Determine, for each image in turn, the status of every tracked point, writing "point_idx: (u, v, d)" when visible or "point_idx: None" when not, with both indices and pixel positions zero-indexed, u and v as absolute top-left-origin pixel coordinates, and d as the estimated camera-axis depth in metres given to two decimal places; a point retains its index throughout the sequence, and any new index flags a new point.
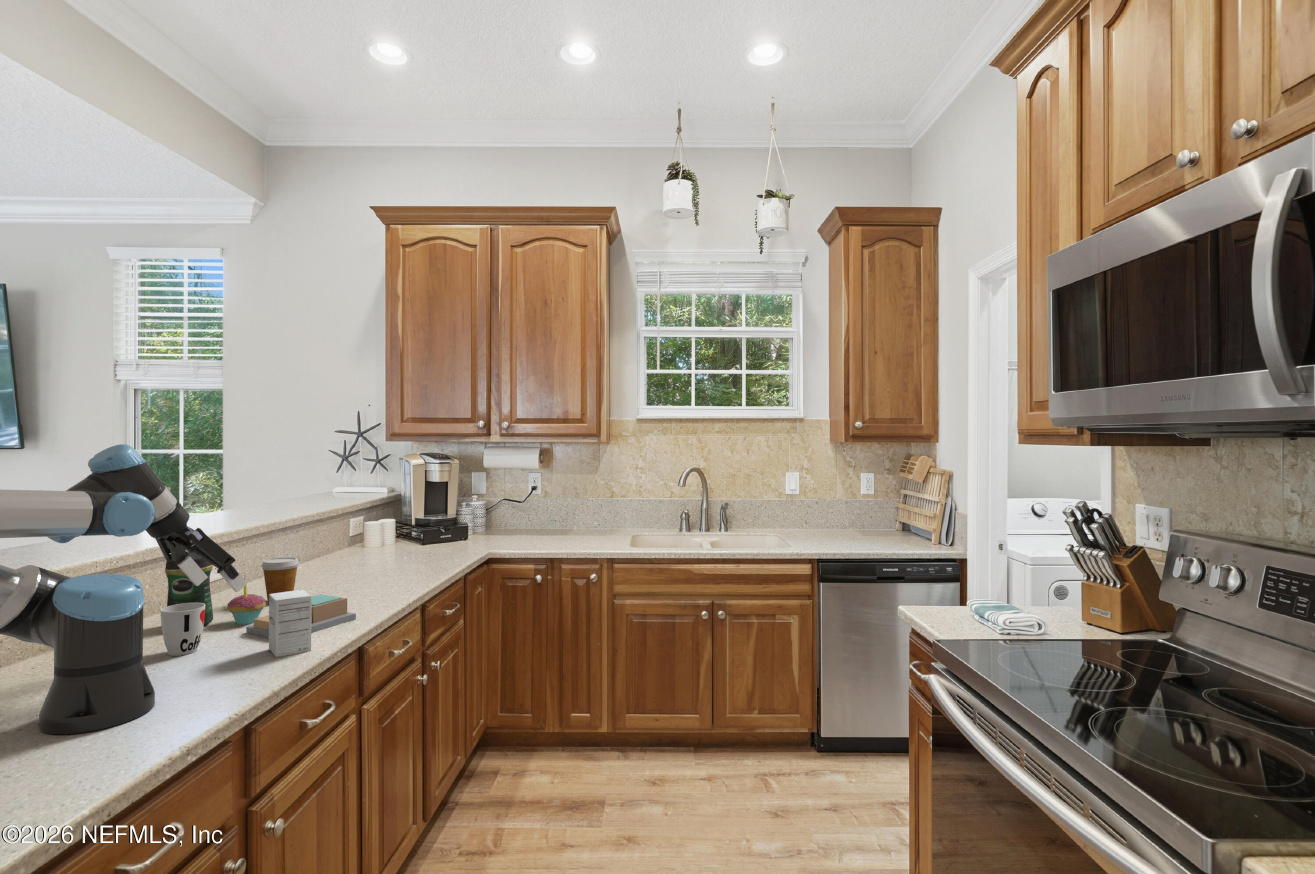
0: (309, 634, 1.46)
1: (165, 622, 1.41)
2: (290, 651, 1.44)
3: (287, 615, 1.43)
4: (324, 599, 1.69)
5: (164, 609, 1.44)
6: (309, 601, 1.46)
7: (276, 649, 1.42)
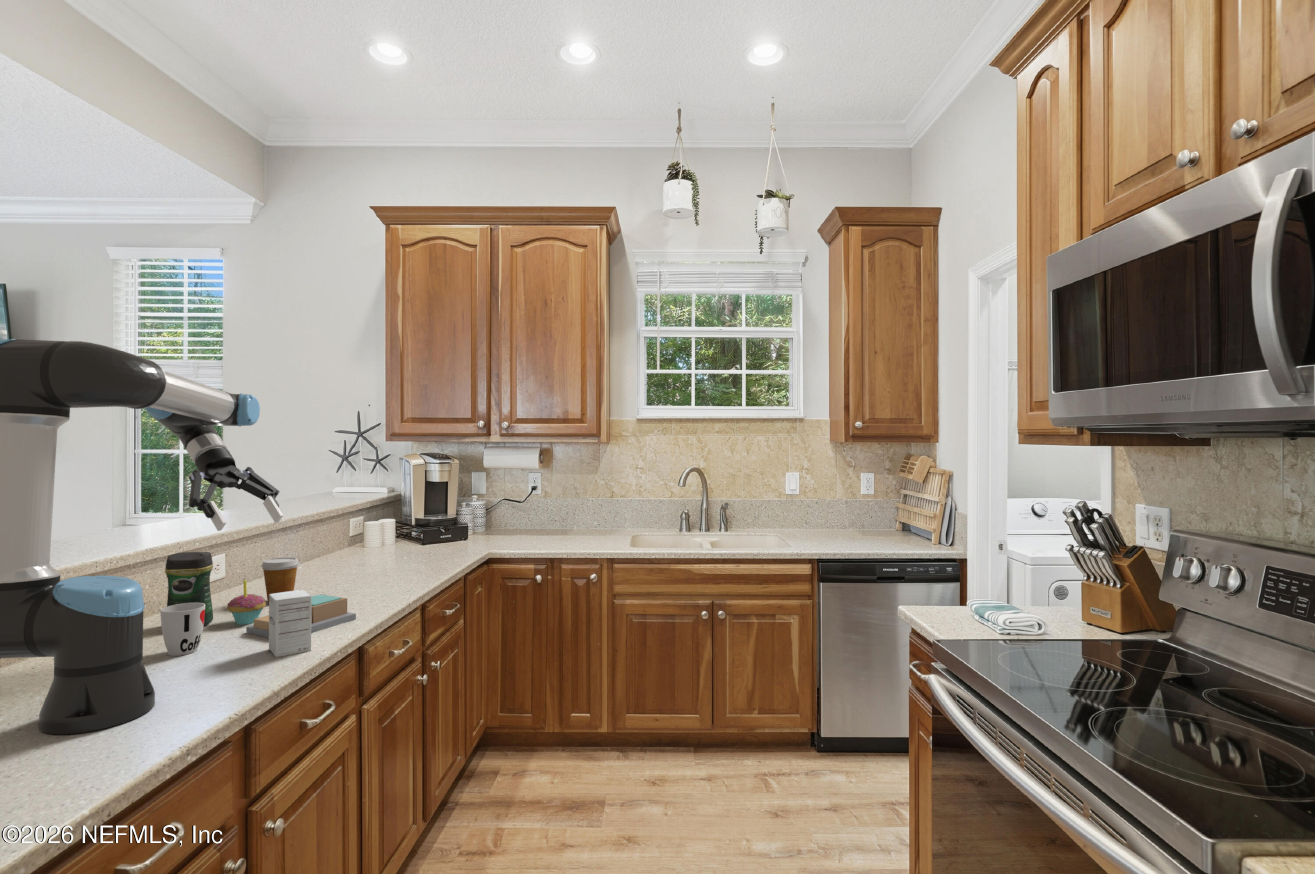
0: (309, 634, 1.46)
1: (165, 622, 1.41)
2: (290, 651, 1.44)
3: (287, 615, 1.43)
4: (324, 599, 1.69)
5: (164, 609, 1.44)
6: (309, 601, 1.46)
7: (276, 649, 1.42)
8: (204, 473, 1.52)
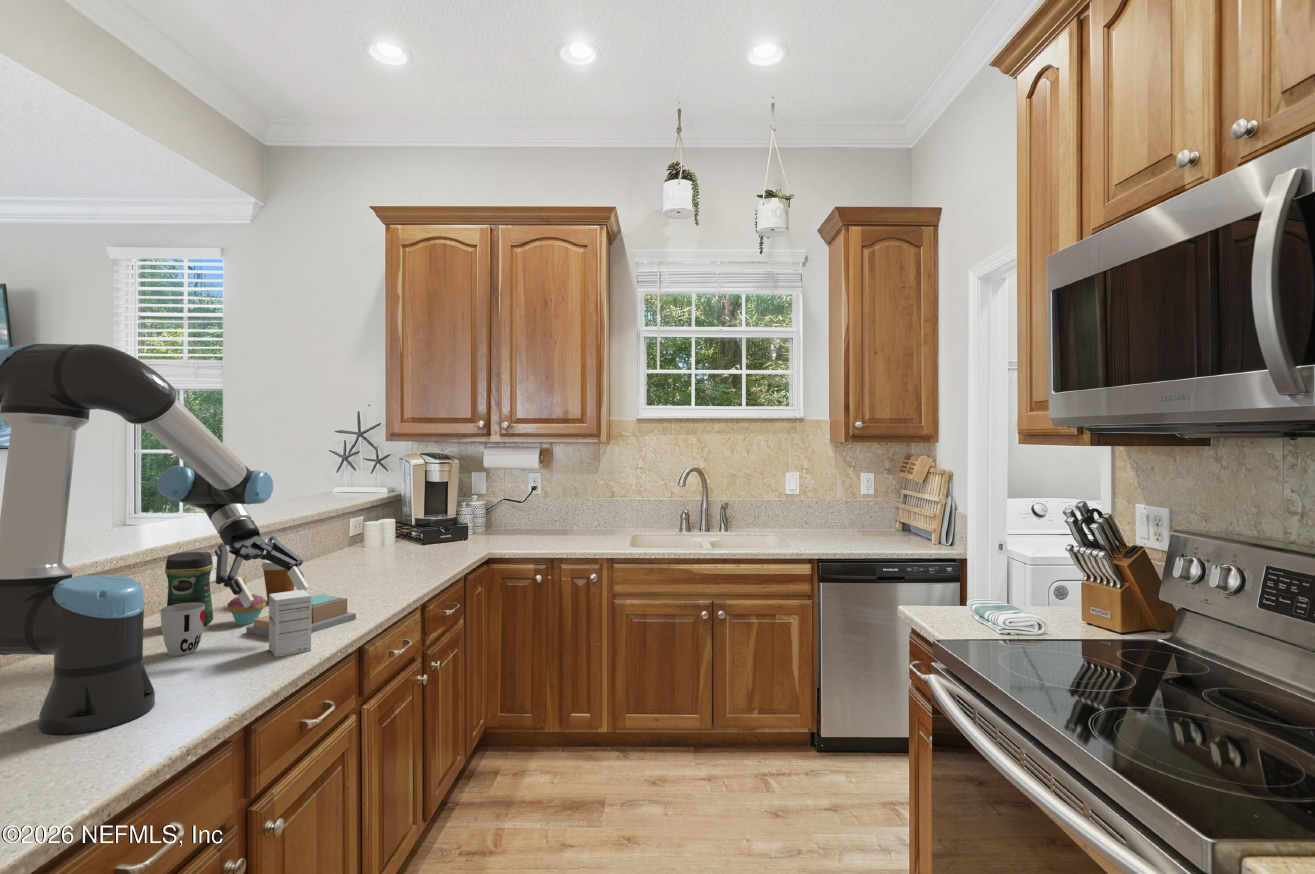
0: (309, 634, 1.46)
1: (165, 622, 1.41)
2: (290, 651, 1.44)
3: (287, 615, 1.43)
4: (324, 599, 1.69)
5: (164, 609, 1.44)
6: (309, 601, 1.46)
7: (276, 649, 1.42)
8: (230, 546, 1.50)
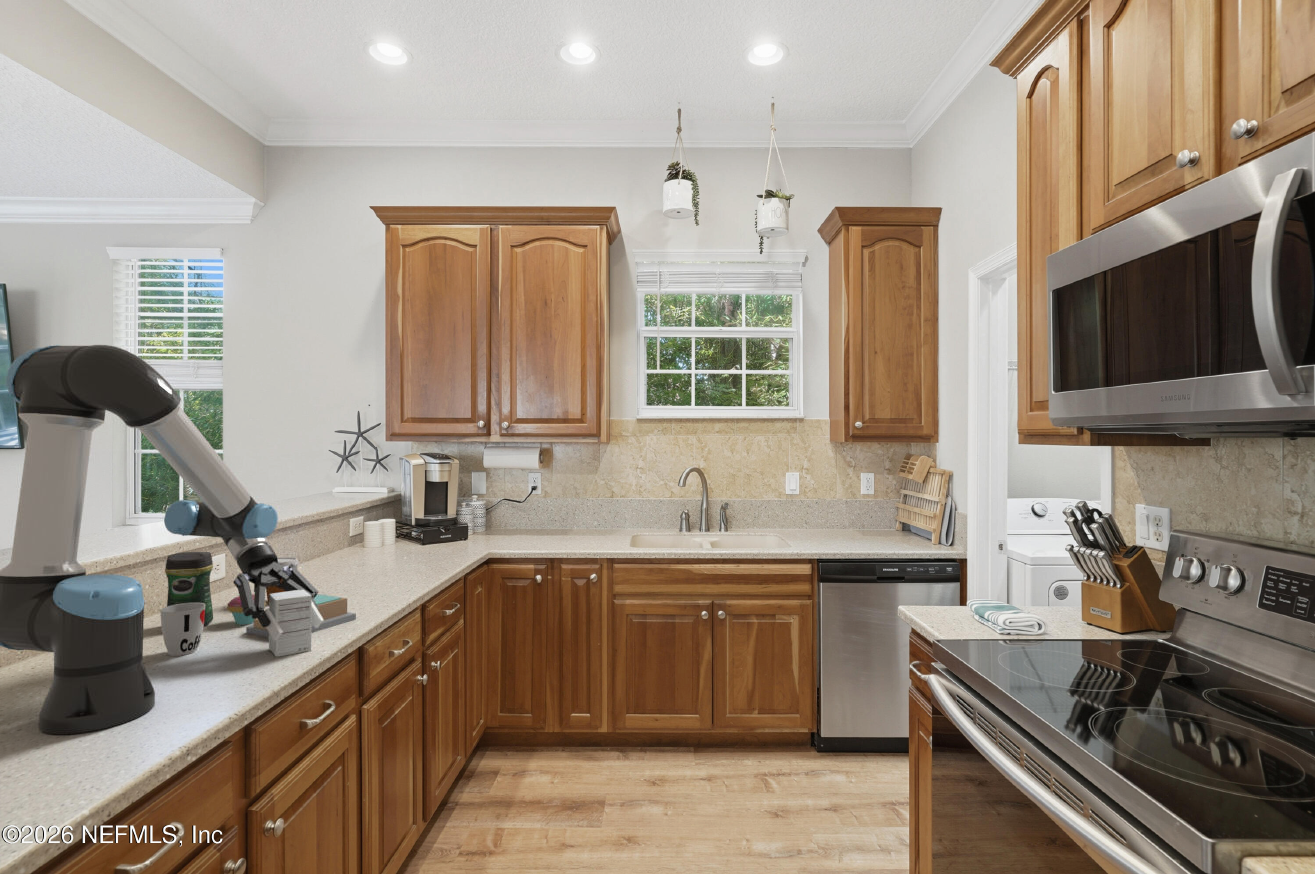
0: (309, 634, 1.46)
1: (165, 622, 1.41)
2: (290, 651, 1.44)
3: (287, 615, 1.43)
4: (324, 599, 1.69)
5: (164, 609, 1.44)
6: (309, 601, 1.46)
7: (276, 649, 1.42)
8: (248, 574, 1.46)
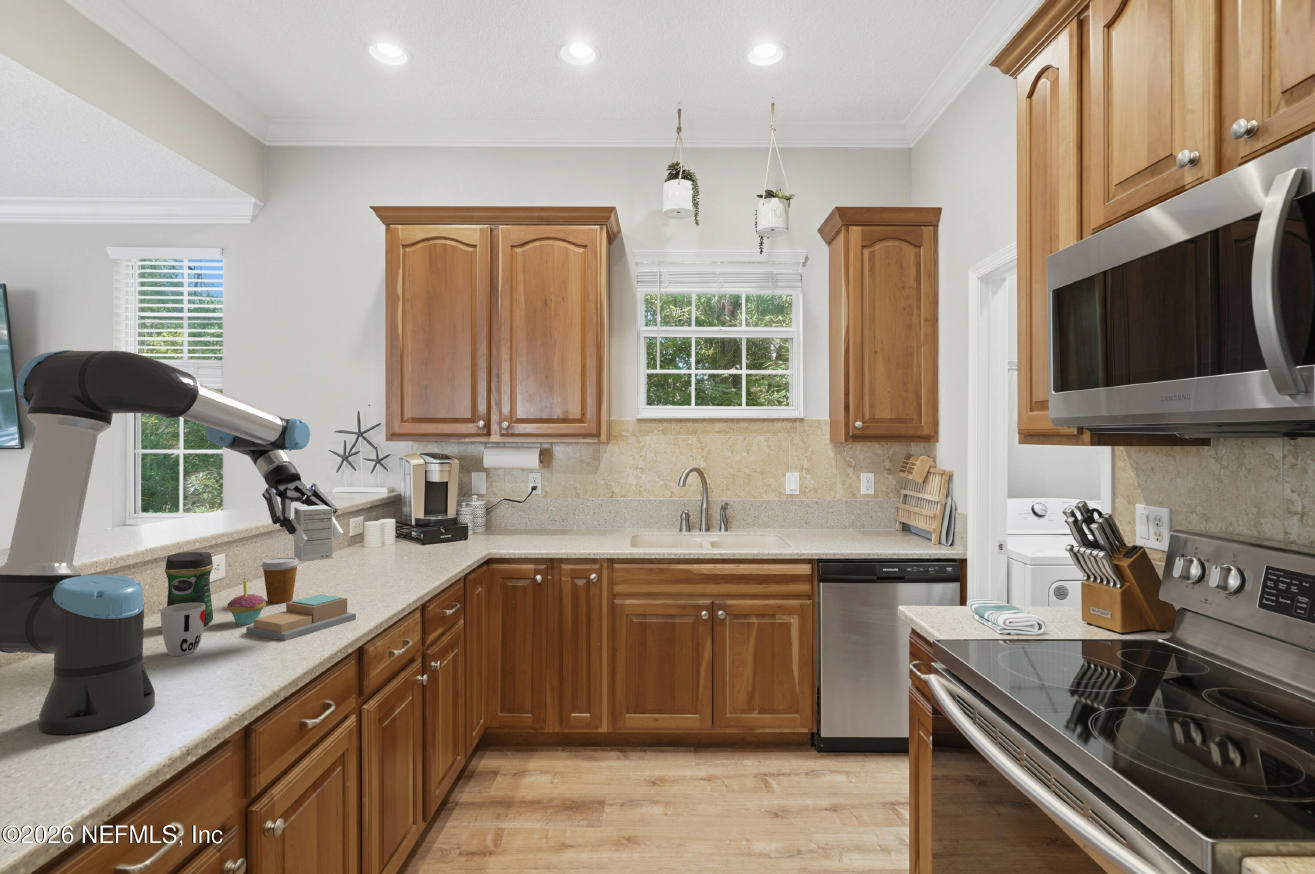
0: (331, 543, 1.61)
1: (165, 622, 1.41)
2: (314, 557, 1.58)
3: (311, 524, 1.58)
4: (324, 599, 1.69)
5: (164, 609, 1.44)
6: (330, 513, 1.60)
7: (301, 554, 1.56)
8: (275, 489, 1.61)
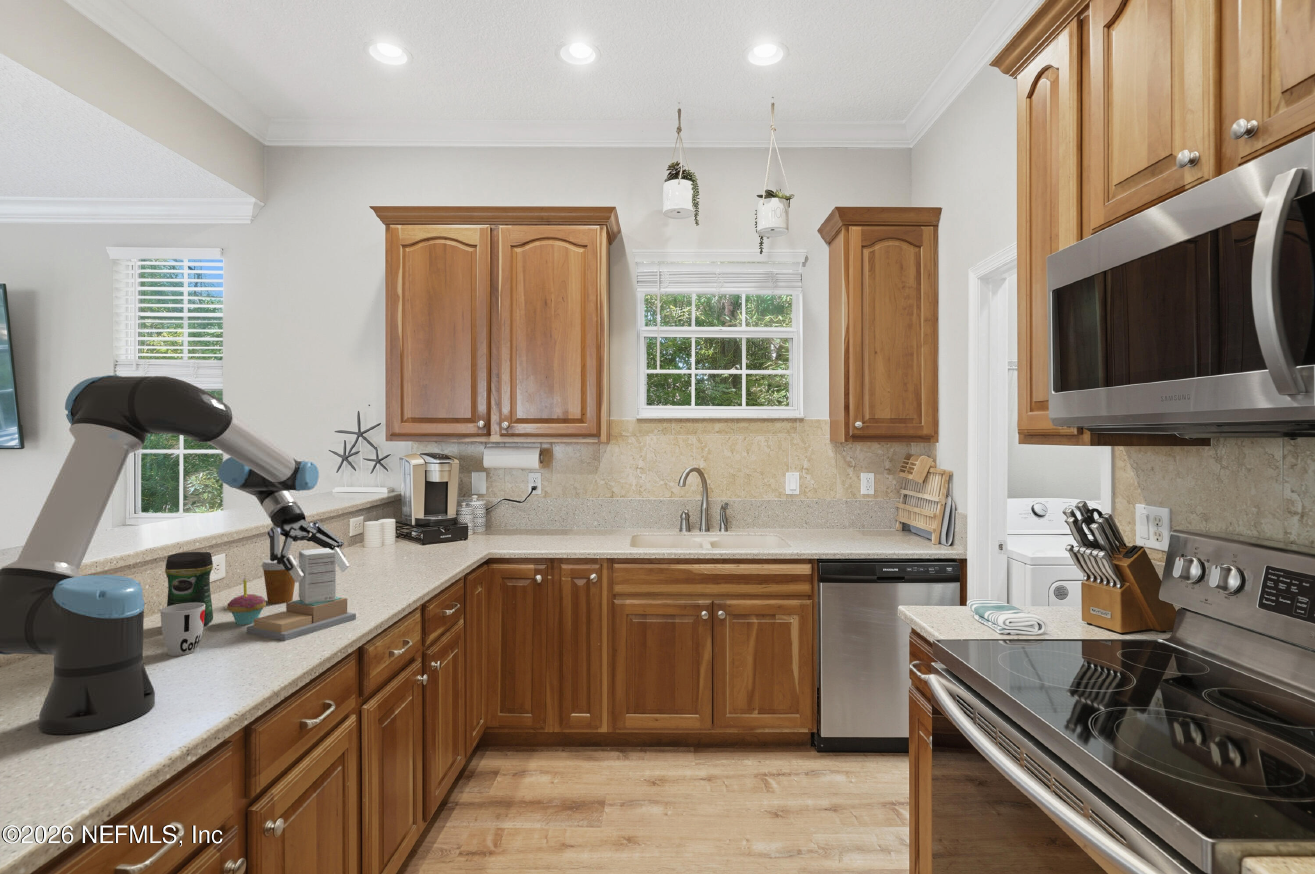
0: (334, 585, 1.68)
1: (165, 622, 1.41)
2: (318, 599, 1.66)
3: (315, 568, 1.65)
4: None
5: (164, 609, 1.44)
6: (334, 556, 1.68)
7: (306, 597, 1.64)
8: (280, 528, 1.68)
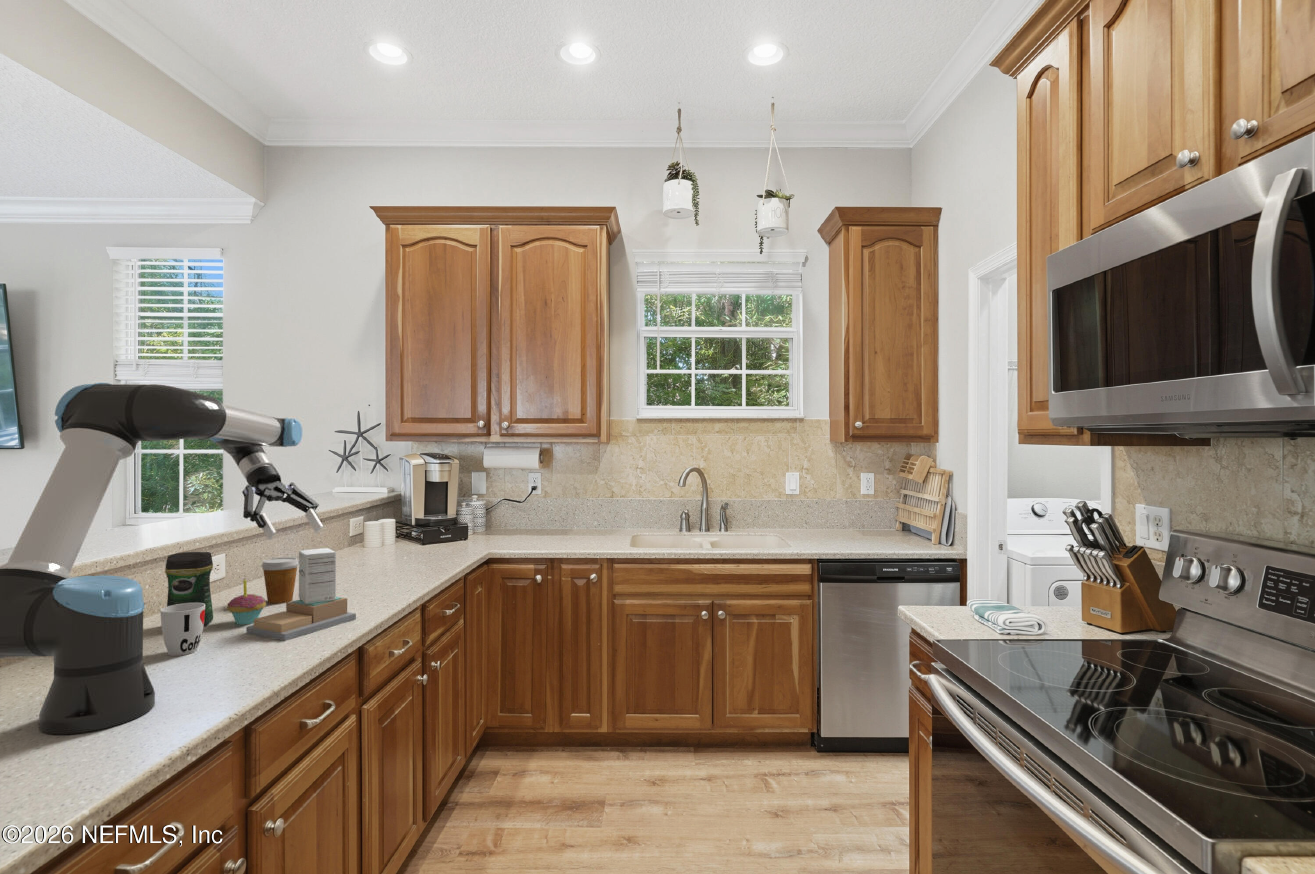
0: (334, 585, 1.68)
1: (165, 622, 1.41)
2: (318, 599, 1.66)
3: (315, 568, 1.65)
4: None
5: (164, 609, 1.44)
6: (334, 556, 1.68)
7: (306, 597, 1.64)
8: (255, 488, 1.72)
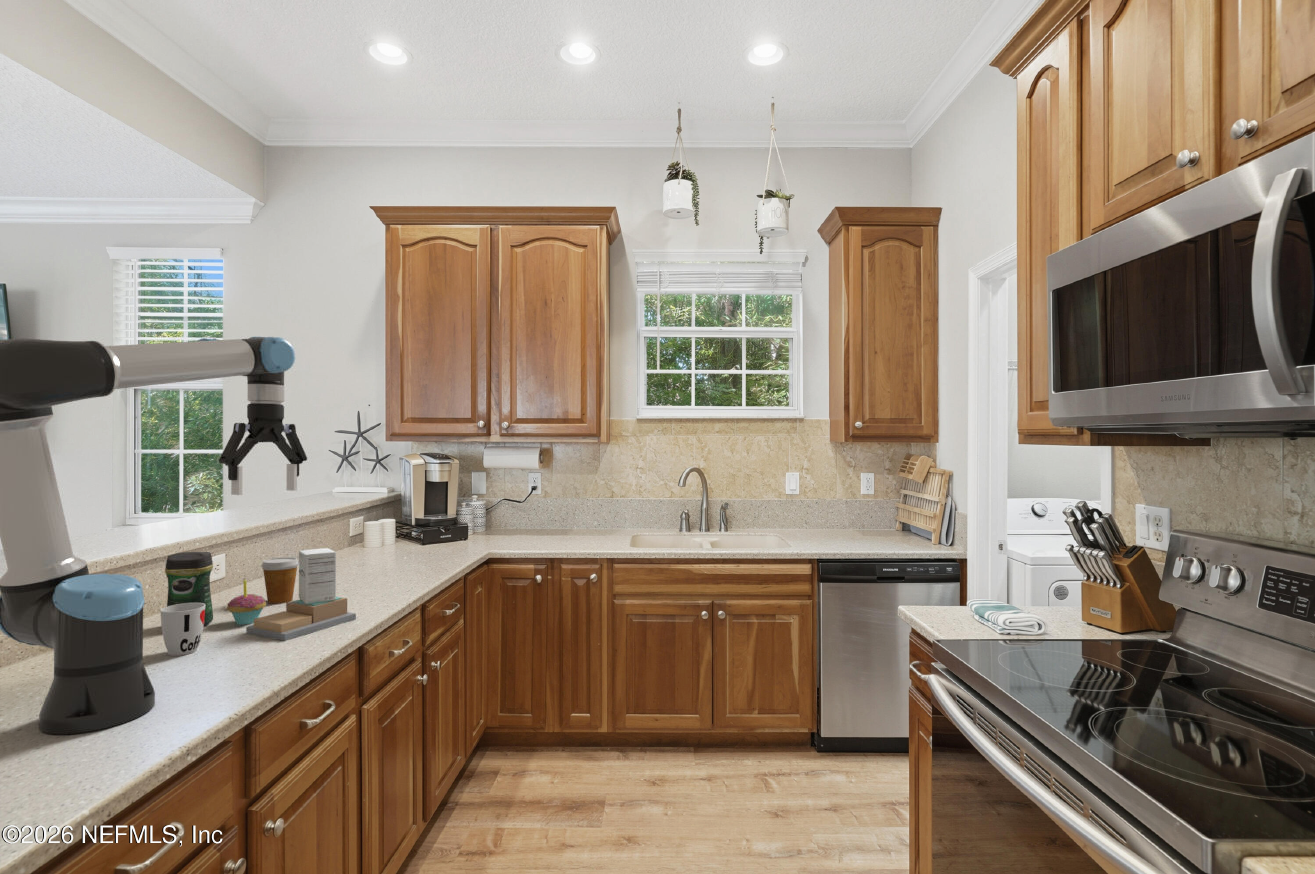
0: (334, 585, 1.68)
1: (165, 622, 1.41)
2: (318, 599, 1.66)
3: (315, 568, 1.65)
4: None
5: (164, 609, 1.44)
6: (334, 556, 1.68)
7: (306, 597, 1.64)
8: (249, 426, 1.50)
